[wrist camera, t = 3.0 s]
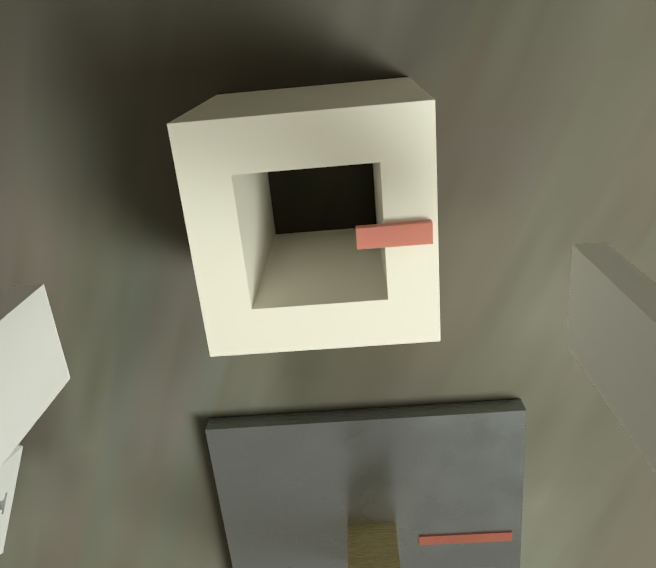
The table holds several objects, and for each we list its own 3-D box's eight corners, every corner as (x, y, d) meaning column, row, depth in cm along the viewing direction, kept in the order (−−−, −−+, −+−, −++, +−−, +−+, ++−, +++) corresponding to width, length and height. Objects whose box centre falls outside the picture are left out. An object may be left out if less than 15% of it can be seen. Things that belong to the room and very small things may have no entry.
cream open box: (244, 271, 29) (208, 361, 21) (217, 94, 26) (164, 125, 18) (415, 258, 29) (441, 345, 21) (408, 76, 26) (436, 100, 18)
